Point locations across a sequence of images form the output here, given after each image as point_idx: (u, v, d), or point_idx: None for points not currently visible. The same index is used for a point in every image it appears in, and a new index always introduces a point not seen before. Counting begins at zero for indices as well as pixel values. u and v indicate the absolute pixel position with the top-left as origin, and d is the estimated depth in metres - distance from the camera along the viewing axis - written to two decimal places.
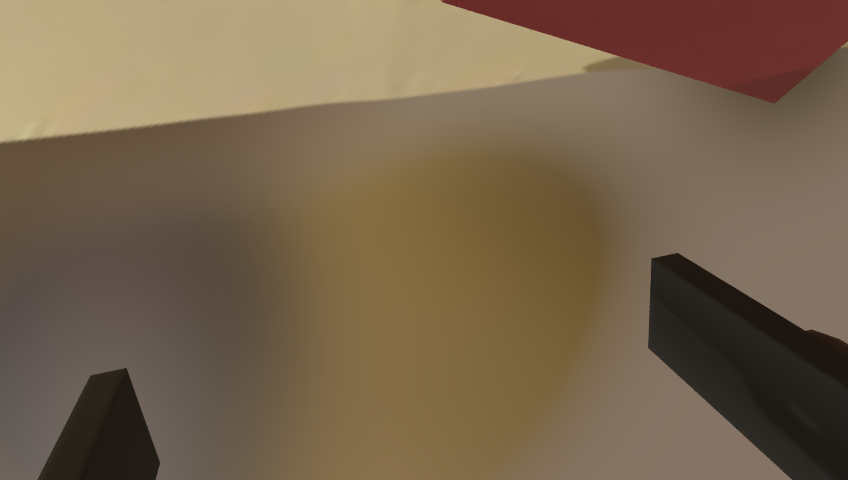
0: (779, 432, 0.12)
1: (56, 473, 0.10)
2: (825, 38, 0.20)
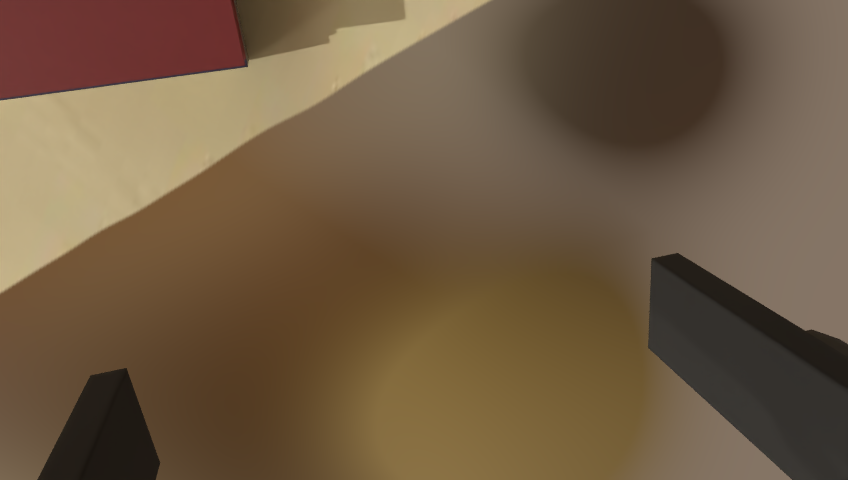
0: (779, 432, 0.12)
1: (56, 473, 0.10)
2: (213, 16, 0.34)
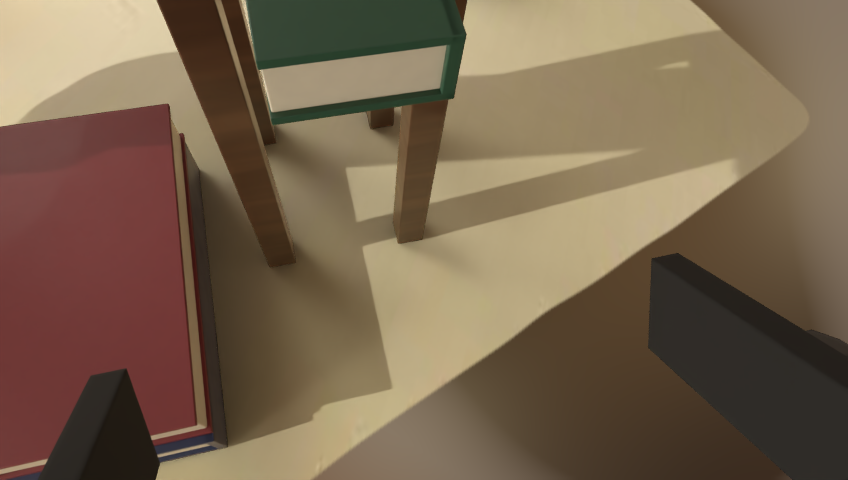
0: (779, 432, 0.12)
1: (56, 473, 0.10)
2: (170, 379, 0.34)
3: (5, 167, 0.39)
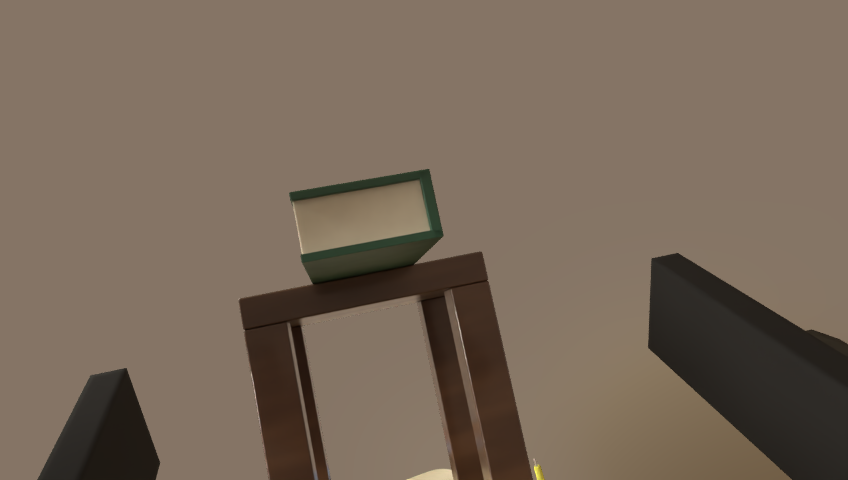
0: (779, 432, 0.12)
1: (56, 473, 0.10)
2: None
3: None
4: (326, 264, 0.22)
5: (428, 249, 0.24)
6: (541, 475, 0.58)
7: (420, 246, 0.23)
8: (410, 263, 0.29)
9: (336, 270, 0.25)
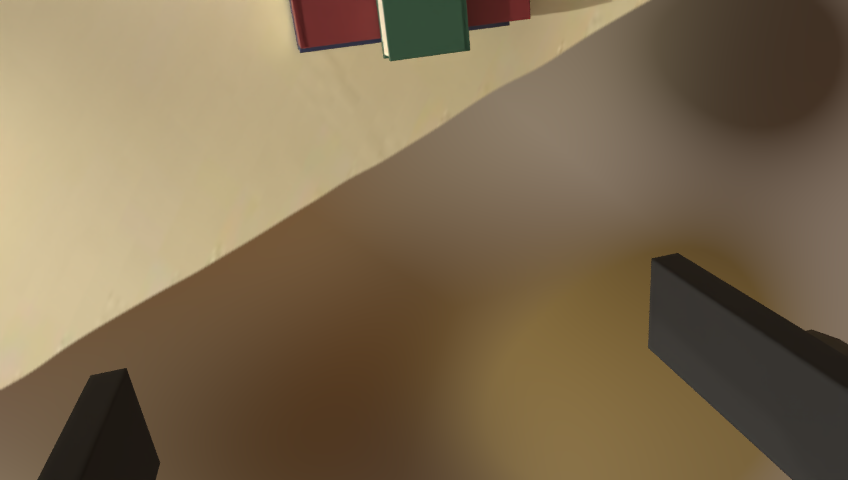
0: (779, 432, 0.12)
1: (56, 473, 0.10)
2: None
3: None
4: None
5: None
6: None
7: None
8: None
9: None
